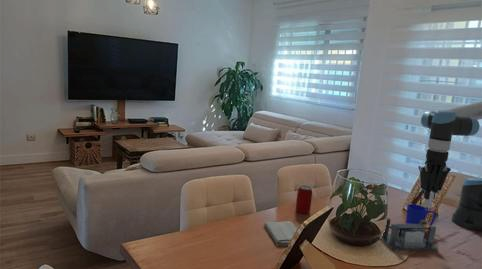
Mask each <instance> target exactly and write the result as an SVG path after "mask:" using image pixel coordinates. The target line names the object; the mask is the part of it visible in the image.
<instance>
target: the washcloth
mask: <svg viewBox="0 0 482 269" xmlns="http://www.w3.org/2000/svg"><path fill="white" fill-rule="evenodd" d="M263 226H264V227H265V229H266V231H267V233H268V234H269V236H270V237H272V239H273V241H274V243H275V245H276V246H277V247H278V246H284V247H286V246H288V244H289V242H290V240H291V238H292V237H293V235H294V233H295V232H296V230H297V229H298V227H297V226H295V224H294V223H293V222H292V221H288V220H287V221H269V222H268V221H266V222H264V224H263Z"/></svg>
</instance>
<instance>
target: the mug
mask: <svg viewBox="0 0 482 269" xmlns="http://www.w3.org/2000/svg"><path fill="white" fill-rule="evenodd" d="M429 213H432V214H433V217H432V219H431V221H430V223H428V224H429V225H430V226H433V224H434V222H435V219H436V216H437V212H436V211H433V210H430V209H429V210H428V207H426V206H424V205H420V204H415V203H409V204H407V205H406V214H405V215H406V216H405V218H406V219H405V224H420V220H426V218H427V215H428V214H429Z"/></svg>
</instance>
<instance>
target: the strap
mask: <svg viewBox="0 0 482 269" xmlns="http://www.w3.org/2000/svg"><path fill="white" fill-rule="evenodd" d="M429 224H430V223H426V224H406V223H401V224H397V225H399V227H398V229H425V230H429V226H430V225H429ZM392 225H393V223H391V222H390V223H387V226H388V227H389V230H392Z"/></svg>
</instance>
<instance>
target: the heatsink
mask: <svg viewBox="0 0 482 269" xmlns="http://www.w3.org/2000/svg"><path fill="white" fill-rule="evenodd" d="M386 218H387V223H390V224H391V219H390V218H389V217H386ZM392 224H393V225H392V229H390V228H389V227H388V226H387V225H386V229H385V232H384V233H383V236H382V238H381V240H382V241H383V242H384V243H385V244H384V243H383V242H382V241H381V240H380V241H381V242H382V243H383V244H384V245H385V246H387V247H388V248H389V249H390V250H391V251H438V250H439V247H437V246H436V245H435V244H434V240H435V235H436V232H437V230H436V229H437V226H436V225H435V226H434V225H431V226H429V229H427V231H428V232H427V235H426V238H424V237H425V233H426V229H398V227H399V225H397V224H402V223H398V222H397V223H392ZM420 224H428V223H427V220H426V219H425V220H420ZM389 230H390V231H391V232H390V233H389Z"/></svg>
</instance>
